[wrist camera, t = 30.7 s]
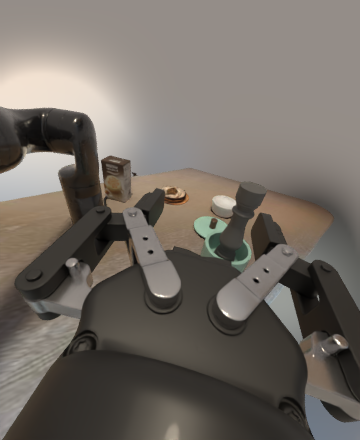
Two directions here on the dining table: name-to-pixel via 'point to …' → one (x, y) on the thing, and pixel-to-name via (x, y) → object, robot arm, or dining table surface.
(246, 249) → the pot
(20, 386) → the dining table surface
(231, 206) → the ramekin
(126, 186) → the coffee box
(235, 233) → the candle holder
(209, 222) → the pot lid
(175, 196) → the cream topped cake
